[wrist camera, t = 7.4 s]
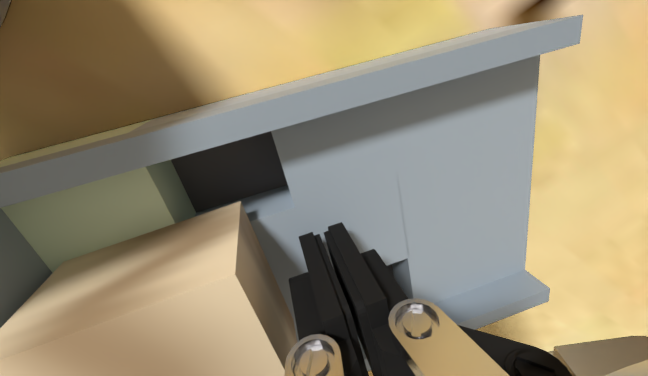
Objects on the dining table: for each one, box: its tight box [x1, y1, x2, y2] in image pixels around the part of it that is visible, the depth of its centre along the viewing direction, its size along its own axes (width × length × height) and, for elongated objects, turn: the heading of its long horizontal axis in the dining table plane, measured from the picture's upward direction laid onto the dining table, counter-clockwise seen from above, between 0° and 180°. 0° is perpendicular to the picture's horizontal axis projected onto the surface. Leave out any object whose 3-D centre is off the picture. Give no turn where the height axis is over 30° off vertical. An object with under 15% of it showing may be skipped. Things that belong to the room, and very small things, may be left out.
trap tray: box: [0, 15, 583, 371], centre depth 11 cm, size 19×12×6 cm, turn 104°
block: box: [0, 201, 297, 376], centre depth 10 cm, size 6×6×4 cm
